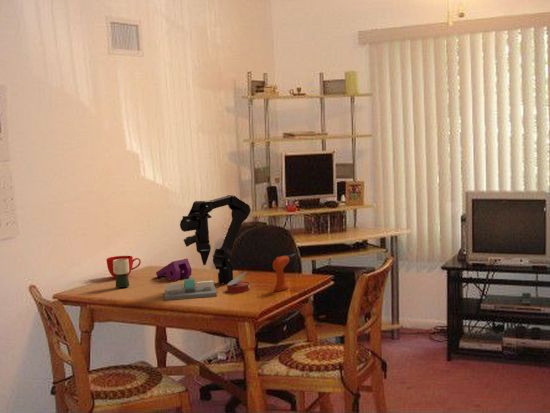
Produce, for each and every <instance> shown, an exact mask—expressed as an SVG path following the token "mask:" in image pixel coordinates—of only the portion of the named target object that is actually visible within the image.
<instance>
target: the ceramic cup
mask: <svg viewBox="0 0 550 413" xmlns="http://www.w3.org/2000/svg"><path fill="white" fill-rule="evenodd" d="M116 259H128V260H129V273H127V276H128V277H129V276H130V274H131V273H132V271H133V270H135V269H137V268H138V267H140V265H141V263H142V261H141V259H140V258H139V257H135V258H134V257H133V255H117V256H116V255H115V256H110V257H107V258H106V265H107V270H108V272H109V274H110V275H111V276H112V277H113V278H114V279H116V276H117V274H114V272H113V260H116ZM136 260H138V263H137V265H136V266H134V262H135V261H136ZM133 266H134V267H133Z"/></svg>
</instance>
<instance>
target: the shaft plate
mask: <svg viewBox="0 0 550 413" xmlns="http://www.w3.org/2000/svg"><path fill="white" fill-rule="evenodd" d="M196 283H197V285H196V287H195V288H194V289H185V288H184V283H182V282H178V283H172V284H171V283H170V284H166V285H165V289H164V295H163V296H164V297H163V299H164V301H172V300H184V299H186V300H187V299H199V298H207V297H208V298H212V297H213V298H214V297H217V296H218V295H217V290H216V286H215V283H214V280H205V281H204V280H203V281H197V282H196ZM185 291H186V292H185Z"/></svg>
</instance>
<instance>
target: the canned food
mask: <svg viewBox="0 0 550 413" xmlns="http://www.w3.org/2000/svg"><path fill="white" fill-rule="evenodd" d="M246 273H247V271H244V272H243V273H241V274H240V275H238V276H236V277H234V278H233V280H232V281H230V282H229V283H226V284H227V285H226V287H227V288H226V290H227V292H228V293H235V294H236V293H246V292H249V291H250V290H251V287H250V282H249V281H241V280H243V278H244V277H245V275H246Z"/></svg>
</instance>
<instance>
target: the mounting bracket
mask: <svg viewBox="0 0 550 413" xmlns="http://www.w3.org/2000/svg"><path fill="white" fill-rule="evenodd" d="M190 264H191V263H190V261H189V258H183V259H177V260H174V261H171V262H170V263H168V264H167V265H165V266H164V267H162V268H160V269H159V270H158V271H155V274H156V275H155V276H156V277H157V278H161V277H167V279H168V280H169V281H171V280H173V281H172V282H175V280H176V281H178V280H180V279H189V278H190V277H191V275H192V266H191V265H190Z"/></svg>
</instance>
